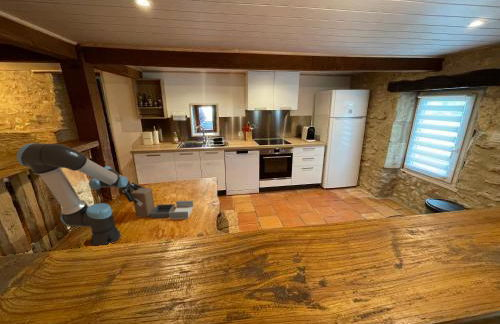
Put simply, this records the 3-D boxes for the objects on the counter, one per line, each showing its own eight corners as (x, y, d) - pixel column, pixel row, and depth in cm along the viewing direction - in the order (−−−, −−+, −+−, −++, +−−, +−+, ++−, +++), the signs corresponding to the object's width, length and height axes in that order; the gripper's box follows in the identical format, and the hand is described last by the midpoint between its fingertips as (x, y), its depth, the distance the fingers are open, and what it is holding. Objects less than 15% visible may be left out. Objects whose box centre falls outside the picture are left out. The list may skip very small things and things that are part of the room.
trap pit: (151, 218, 149) (150, 213, 148) (157, 209, 162) (157, 204, 160) (169, 217, 149) (168, 213, 148) (175, 208, 162) (174, 204, 161)
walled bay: (170, 219, 147) (169, 212, 146) (177, 207, 165) (176, 200, 163) (188, 218, 148) (187, 212, 146) (193, 206, 165) (192, 200, 164)
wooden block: (148, 218, 149) (144, 193, 143) (135, 217, 150) (131, 192, 144) (155, 210, 159) (152, 187, 153) (143, 210, 160) (139, 187, 154)
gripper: (127, 179, 159) (149, 196, 165) (108, 193, 135) (134, 212, 141) (133, 173, 158) (155, 190, 163) (114, 186, 134) (141, 205, 140)
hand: (145, 200), depth 152 cm, fingers open, 13 cm apart
